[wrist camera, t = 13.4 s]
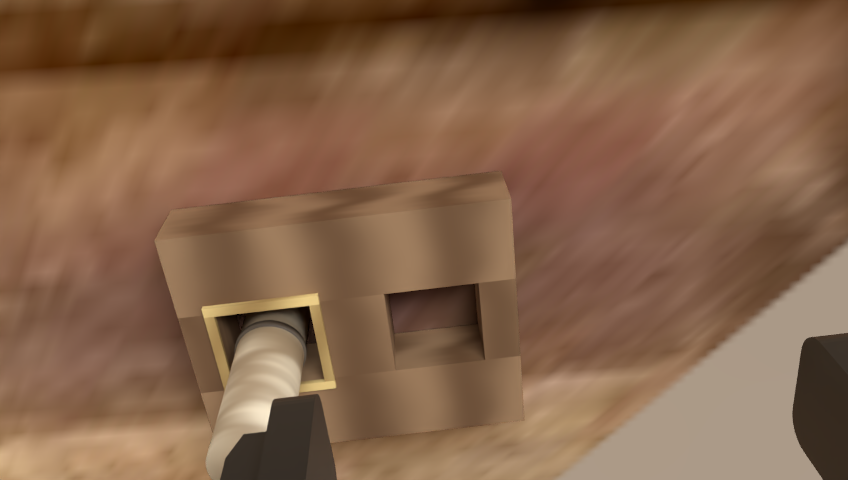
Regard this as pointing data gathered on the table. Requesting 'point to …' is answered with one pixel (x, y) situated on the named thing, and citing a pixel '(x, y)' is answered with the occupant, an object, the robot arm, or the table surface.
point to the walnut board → (359, 298)
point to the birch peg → (259, 377)
